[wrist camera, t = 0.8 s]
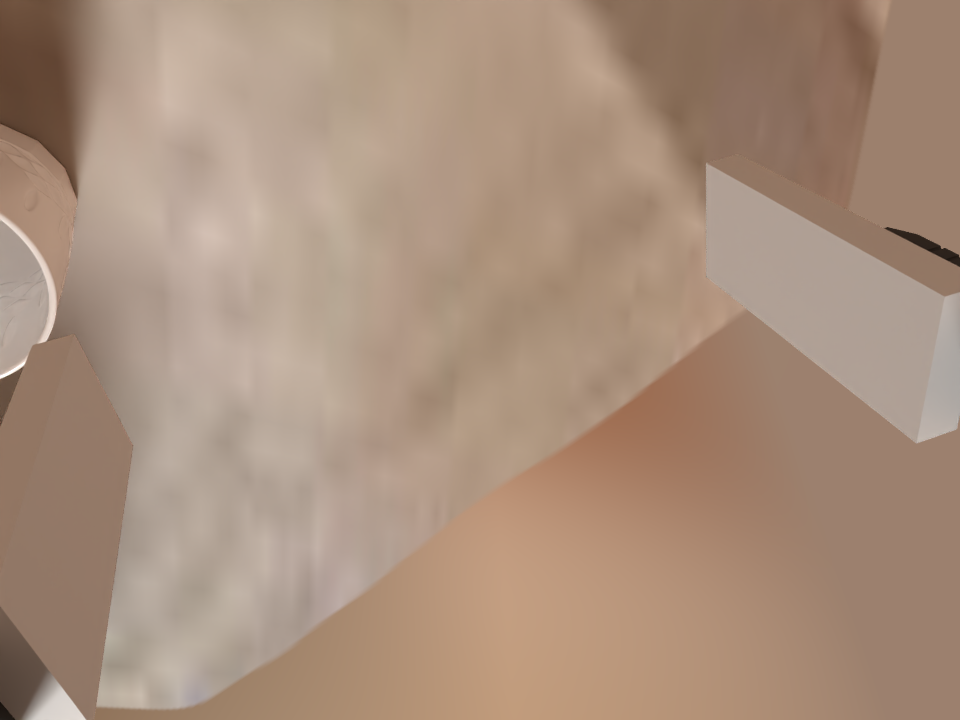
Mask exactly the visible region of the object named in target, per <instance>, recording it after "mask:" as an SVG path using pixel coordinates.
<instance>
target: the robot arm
mask: <svg viewBox="0 0 960 720" xmlns="http://www.w3.org/2000/svg"><path fill="white" fill-rule="evenodd" d="M706 277H707V278H708V279H710V280H711V281H712V282H713V283H715V284H716V285H717V286H718V287H720V288H721V289H722V290H723V291H725V292H726V293H727V294H729V295H730V296H731V297H732V298H734V299H735V300H736V301H737V302H739V303H740V304H741V305H742V306H744V307H745V308H746V309H747V310H749V311H750V312H751V313H753V314H754V315H755V316H756V317H758V318H759V319H760V320H761V321H763V322H764V323H765V324H767V325H768V326H769V327H770V328H771V329H773V330H774V331H775V332H777V333H778V334H779V335H780V336H782V337H783V338H784V339H785V340H787V341H788V342H789V343H790V344H792V345H793V346H794V347H795V348H797V349H798V350H799V351H801V352H802V353H803V354H804V355H806V356H807V357H808V358H809V359H811V360H812V361H813V362H814V363H816V364H817V365H818V366H820V367H821V368H822V369H823V370H824V371H826V372H827V373H828V374H830V375H831V376H832V377H833V378H835V379H836V380H837V381H838V382H840V383H841V384H842V385H843V386H845V387H846V388H847V389H849V390H850V391H851V392H852V393H854V394H855V395H856V396H857V397H859V398H860V399H861V400H862V401H864V402H865V403H866V404H867V405H869V406H870V407H871V408H872V409H874V410H875V411H876V412H878V413H879V414H880V415H881V416H883V417H884V418H885V419H886V420H888V421H889V422H890V423H891V424H893V425H894V426H895V427H897V428H898V429H899V430H900V431H902V432H903V433H904V434H905V435H907V436H908V437H909V438H910V439H912V440H913V441H914V442H915V443H919V442H922V441H924V440H927V439H930V438H933V437H936V436H939V435H942V434H945V433H948V432H950V431H953V430H956V429H957V425H958V421H959V417H960V257H959V255H958V254H956V253H954V252H952V251H950V250H948V249H946V248H944V249H941V247H940V245H938V244H936V243H934V242H932V241H930V240H928V239H926V238H924V237H921V236H920V235H917V234H913V233H909V232H905V231H901V230H897V229H893V228H889V227H887V228H882V227H880V226H878V225H876V224H874V223H872V222H870V221H868V220H866V219H864V218H863V217H861V216H859V215H856V214H855V213H853V212H851V211H849V210H847V209H845V208H843V207H841V206H839V205H837V204H835V203H833V202H831V201H829V200H827V199H825V198H823V197H821V196H819V195H817V194H815V193H814V192H812V191H810V190H808V189H806V188H804V187H802V186H800V185H798V184H796V183H794V182H792V181H790V180H788V179H786V178H784V177H782V176H780V175H778V174H776V173H774V172H772V171H770V170H768V169H766V168H765V167H763V166H761V165H759V164H757V163H755V162H753V161H751V160H749V159H747V158H745V157H743V156H741V155H739V154H737V155H734V156H730V157H726V158H722V159H719V160H715V161H711V162H708V163H706ZM132 450H133V445H132V443H131V441H130V439H129V437H128V435H127V433H126V431H125V429H124V427H123V425H122V424H121V422H120V420H119V418H118V416H117V414H116V412H115V410H114V408H113V406H112V404H111V403H110V401H109V399H108V397H107V395H106V393H105V391H104V389H103V387H102V385H101V384H100V382H99V380H98V378H97V376H96V374H95V372H94V370H93V368H92V366H91V364H90V363H89V361H88V359H87V357H86V355H85V353H84V351H83V349H82V347H81V345H80V343H79V342H78V340H77V338H76V336H75V334H72V335H68V336H65V337H61V338H57V339H54V340H50V341H46V342H42V343H39V344H35V345H32V347H31V350H30V352H29V355H28V357H27V360H26V362H25V365H24V368H23V370H22V373H21V375H20V378H19V380H18V383H17V385H16V388H15V390H14V393H13V396H12V398H11V401H10V403H9V406H8V408H7V411H6V413H5V416H4V418H3V421H2V424H1V426H0V720H94V716H95V709H96V702H97V695H98V688H99V681H100V674H101V667H102V660H103V653H104V646H105V639H106V632H107V625H108V618H109V611H110V604H111V597H112V590H113V583H114V576H115V569H116V562H117V555H118V548H119V541H120V534H121V527H122V520H123V513H124V506H125V499H126V492H127V485H128V478H129V471H130V464H131V457H132Z"/></svg>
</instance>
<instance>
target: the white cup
mask: <svg viewBox="0 0 960 720" xmlns="http://www.w3.org/2000/svg"><path fill="white" fill-rule="evenodd" d="M76 207H77V199H76V196H75V193H74V191H73V188H72V185H71V182H70V180H69V177H68V174H67V172H66V169H65V168H64V167H63V166H62V165H61V164H60V163H59V162H58V161H57V160H56V159H55V158H54V157H53V156H52V155H51V154H50V153H49V152H48V151H47V150H46V148H45V147H44V146H43V145H42V144H41V143H40V142H39V141H37V140H35V139H33V138H31V137H28V136H26V135H24V134H22V133H20V132H17V131H15V130H13V129H11V128H9V127H7V126H4V125H2V124H0V379H2V378H4V377H6V376H8V375H10V374H12V373H14V372H15V371H17V370H19V369H20V368H21V367H23V366H24V365H25V362H26V360H27V357H28V355H29V352H30V350H31V347H32V345H35V344H39V343H42V342H46V341H47V339H48V337H49V335H50V333H51V331H52V328H53V325H54V322H55V317H56V313H57V309H58V305H59V301H60V297H61V294H62V290H63V286H64V282H65V278H66V274H67V270H68V265H69V259H70V255H71V248H72V244H73V238H74V233H73V227H74V220H75V214H76Z"/></svg>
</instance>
